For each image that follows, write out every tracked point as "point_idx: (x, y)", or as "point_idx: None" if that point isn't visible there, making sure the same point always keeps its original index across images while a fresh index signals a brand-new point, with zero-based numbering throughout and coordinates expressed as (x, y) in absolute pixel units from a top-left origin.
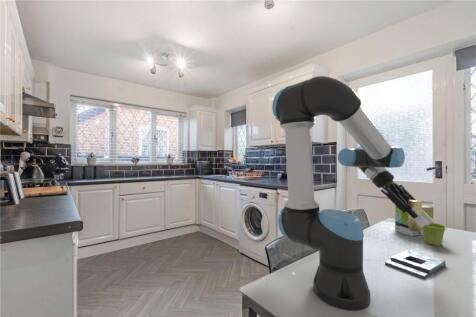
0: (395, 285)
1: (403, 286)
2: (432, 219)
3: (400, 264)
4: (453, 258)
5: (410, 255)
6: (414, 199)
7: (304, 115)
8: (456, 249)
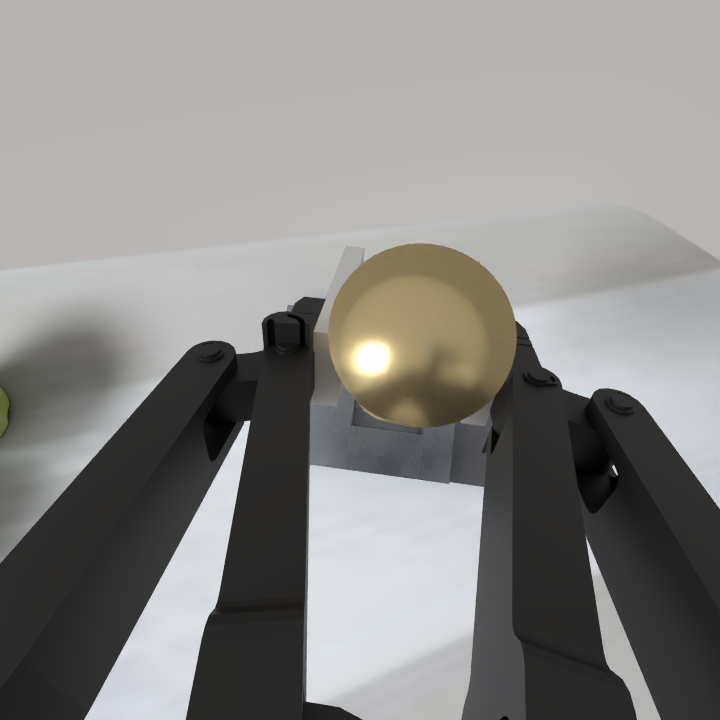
0: (659, 392)
1: (640, 370)
2: (343, 253)
3: (471, 431)
4: (161, 307)
5: (346, 424)
6: (185, 401)
7: None
8: (6, 319)
